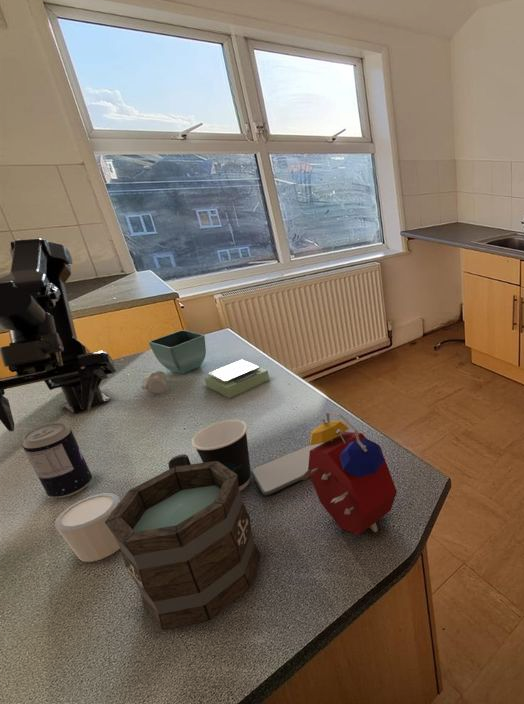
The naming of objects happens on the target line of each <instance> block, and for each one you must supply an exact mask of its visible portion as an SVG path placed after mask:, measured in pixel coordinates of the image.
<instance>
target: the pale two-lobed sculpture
mask: <svg viewBox="0 0 524 704" xmlns="http://www.w3.org/2000/svg"><path fill="white" fill-rule="evenodd" d="M166 378H167V374H166V373H165V372H164V371H163V370H154V371H151V372H149V373H148V374H146V375H145V376H144V377H143V378H142V379H141V382H142V385H141V389H142V390H146V391H149V392H151V393H152V394H163V393H164V392H166V391H167V390H168V383H167V381H166V380H167V379H166Z"/></svg>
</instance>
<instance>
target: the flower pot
mask: <svg viewBox="0 0 524 704" xmlns="http://www.w3.org/2000/svg"><path fill="white" fill-rule="evenodd" d="M205 336H206V335H205V334H202V333H198V332H195V331H190V330H186V329H180V330H178V331H175V332H173V333H169V334H166V335H164V336H161V337H158V338H155V339H152V340H150V341H147V342H148V345H149V347H150V349H151V351H152V352H153V354H154V356H155V358H156V360H157V361H158V362H159V363H160V364H161V365H162V366H163V367H164V368H165V369H167V370H168V371H170V372H174V373H176V374H180V375H184V374H186V373H188V372H190V371H193V370H195V369H197V368H200V367H201V366H202V364H203V363H204V361H205V359H206V355H207V348H206V346H207V345H206V338H205Z"/></svg>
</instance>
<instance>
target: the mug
mask: <svg viewBox="0 0 524 704" xmlns="http://www.w3.org/2000/svg"><path fill="white" fill-rule="evenodd" d="M167 464H168V470H166V471H164V472H162V473H160V474H158V475H156V476H154V477H152V478H150V479H148V480H146V481H144V482H142V483H141V484H138V485H136V486H134V487H133V488H131V489H128V491H127V493H125V495H124V496H123V497H122V499H121V500H120V503H119V504H118V505H117V507H116V508H115V509H114V511H113V512H112V513H111V515H110V516H109V517H108V518H107V520H106V521H105V524H106V525H107V526H108V528H109V529H110V530H111V532H112V533H113V535H114V536H115V538H116V540H117V542H118V544H119V547H120V549H119V550H120V551H121V555H122V559H123V562H124V567H125V568H126V570H127V571H128V574H129V575H130V576H131V577H132V579H133V581H134V582H135V585H136V586H137V588H138V591H139V593H140V596H141V601H142V605H143V609H144V610H145V611H146V613H148V615H149V616H150V617H151V618H152V619H153V621H154V622H155V624H157V626H159V627H160V629H161V630H162V631H163V630H169V629H173V628H177V627H182V626H187V625H192V624H196V623H202V622H206V621H210V620H212V619H213V618H214V617H215V616H217V614H219V613H220V612H221V611H222V610H224V609H225V608H226V607H227V606H228V605H230V604H231V603H232V602H233V601H235V600H236V599H238V597H240V596H241V595H242V594H244V593H245V592H246V591H247V590H249V589H250V588H251V585H252V583H253V579H254V576H255V573H256V570H257V568H258V564H259V561H260V558H261V553H260V551H259V549H258V547H257V545H256V542H255V539H254V536H253V532H252V526H251V519H250V515H249V513H248V510H247V507H246V506H245V504H244V501H243V499H242V494H241V490H240V491H239V483H238V475H237V474H236V473H234V472H233V471H231V470H230V469H228V468H227V467H226V466H224V465H223V464H221V463H220V462H218V461H213V462H205V463H203V462H199V463H191V461H190V458H189V456H188V454H185V453H183V454H182V453H181V454H178V455H175V456H173V457H171V458H170V460H169V461H168V463H167Z"/></svg>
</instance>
